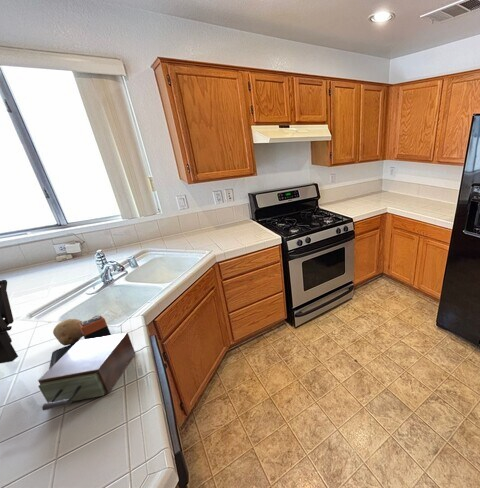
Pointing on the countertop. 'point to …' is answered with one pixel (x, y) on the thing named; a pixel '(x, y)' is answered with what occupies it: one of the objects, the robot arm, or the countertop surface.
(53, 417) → the countertop surface
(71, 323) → the natural sponge
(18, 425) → the countertop surface
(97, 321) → the battery
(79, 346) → the cabinet
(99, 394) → the drawer
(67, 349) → the phone
